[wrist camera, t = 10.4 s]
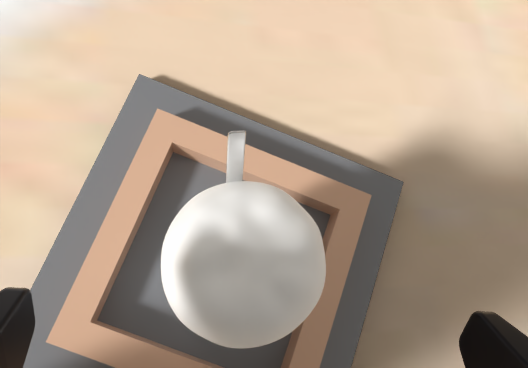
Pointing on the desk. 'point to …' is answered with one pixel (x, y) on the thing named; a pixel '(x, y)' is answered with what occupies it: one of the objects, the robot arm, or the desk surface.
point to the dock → (159, 220)
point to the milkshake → (242, 260)
